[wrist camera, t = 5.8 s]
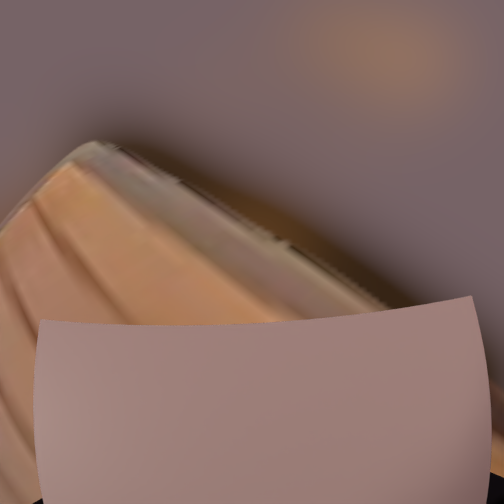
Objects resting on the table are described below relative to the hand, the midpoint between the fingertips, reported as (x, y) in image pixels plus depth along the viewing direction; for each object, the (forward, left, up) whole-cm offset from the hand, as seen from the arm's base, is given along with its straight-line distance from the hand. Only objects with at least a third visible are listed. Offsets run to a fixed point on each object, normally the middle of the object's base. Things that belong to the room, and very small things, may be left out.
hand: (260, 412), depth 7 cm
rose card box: (0, -1, -7) cm, 7 cm away
